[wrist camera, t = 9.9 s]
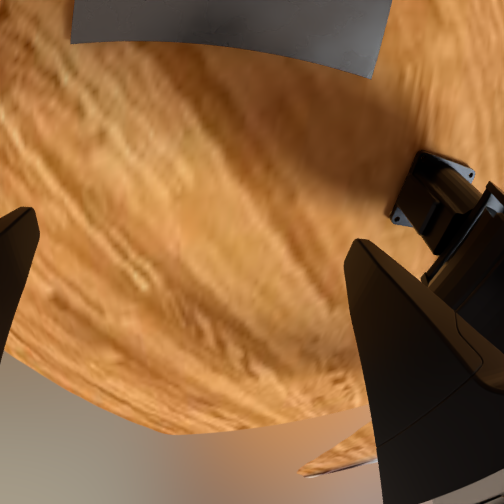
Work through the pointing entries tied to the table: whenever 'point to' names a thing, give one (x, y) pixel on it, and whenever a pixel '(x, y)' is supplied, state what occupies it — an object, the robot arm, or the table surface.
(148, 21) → the stand base
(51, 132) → the table surface
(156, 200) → the table surface
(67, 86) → the table surface
